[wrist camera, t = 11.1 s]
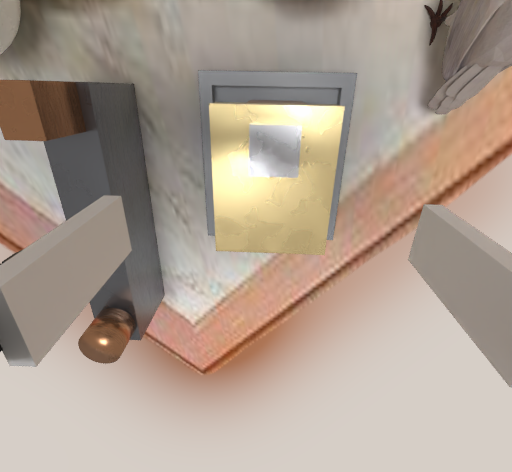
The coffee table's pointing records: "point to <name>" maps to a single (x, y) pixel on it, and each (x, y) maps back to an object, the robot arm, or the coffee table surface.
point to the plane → (96, 189)
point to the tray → (274, 90)
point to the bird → (472, 49)
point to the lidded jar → (8, 22)
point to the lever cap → (273, 175)
